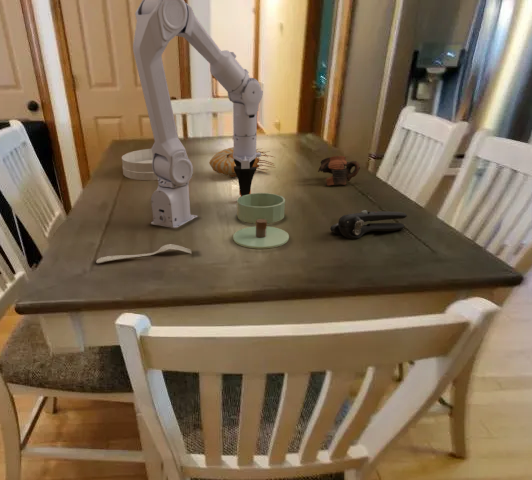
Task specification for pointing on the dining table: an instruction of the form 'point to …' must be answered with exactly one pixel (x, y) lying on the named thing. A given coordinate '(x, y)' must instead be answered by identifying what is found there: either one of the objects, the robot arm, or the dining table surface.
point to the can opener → (355, 226)
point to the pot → (261, 207)
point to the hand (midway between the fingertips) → (244, 191)
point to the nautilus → (230, 162)
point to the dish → (139, 165)
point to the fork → (163, 248)
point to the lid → (261, 236)
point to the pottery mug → (338, 169)
